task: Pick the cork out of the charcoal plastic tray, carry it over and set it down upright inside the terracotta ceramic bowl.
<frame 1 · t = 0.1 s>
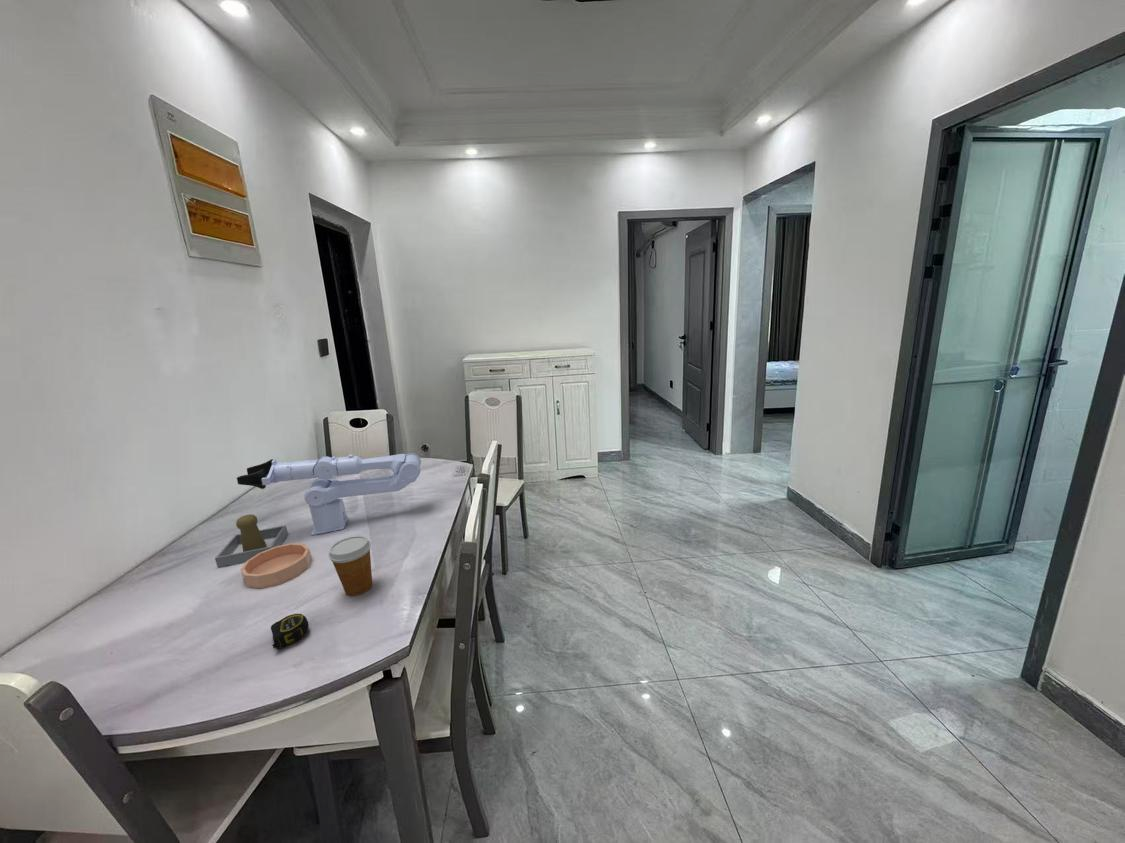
hand: (242, 476, 137), 22 cm above the table, fingers open, 7 cm apart
cork: (255, 550, 137), resting in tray
tape measure: (289, 640, 97), on the table
bowl: (279, 569, 125), on the table
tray: (255, 549, 137), on the table
disposable coffee cup: (359, 588, 113), on the table
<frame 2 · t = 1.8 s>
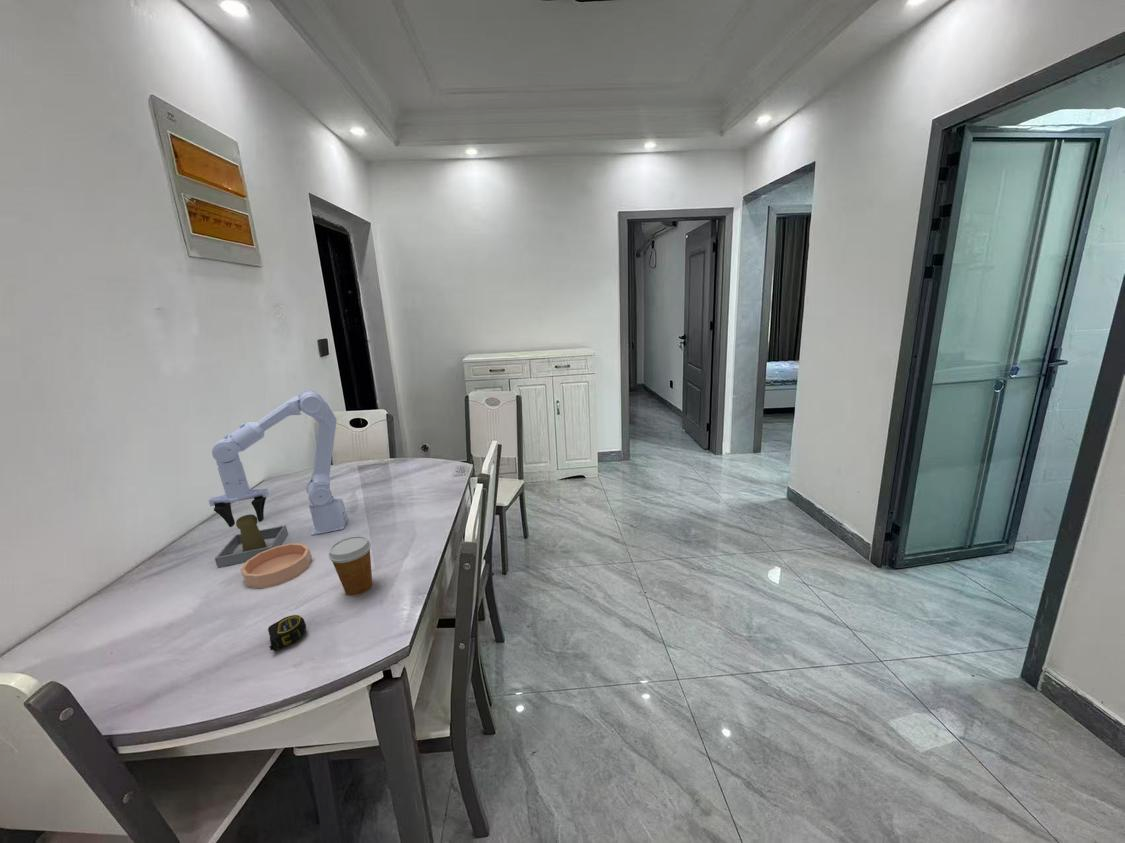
hand: (246, 522, 135), 9 cm above the table, fingers open, 7 cm apart
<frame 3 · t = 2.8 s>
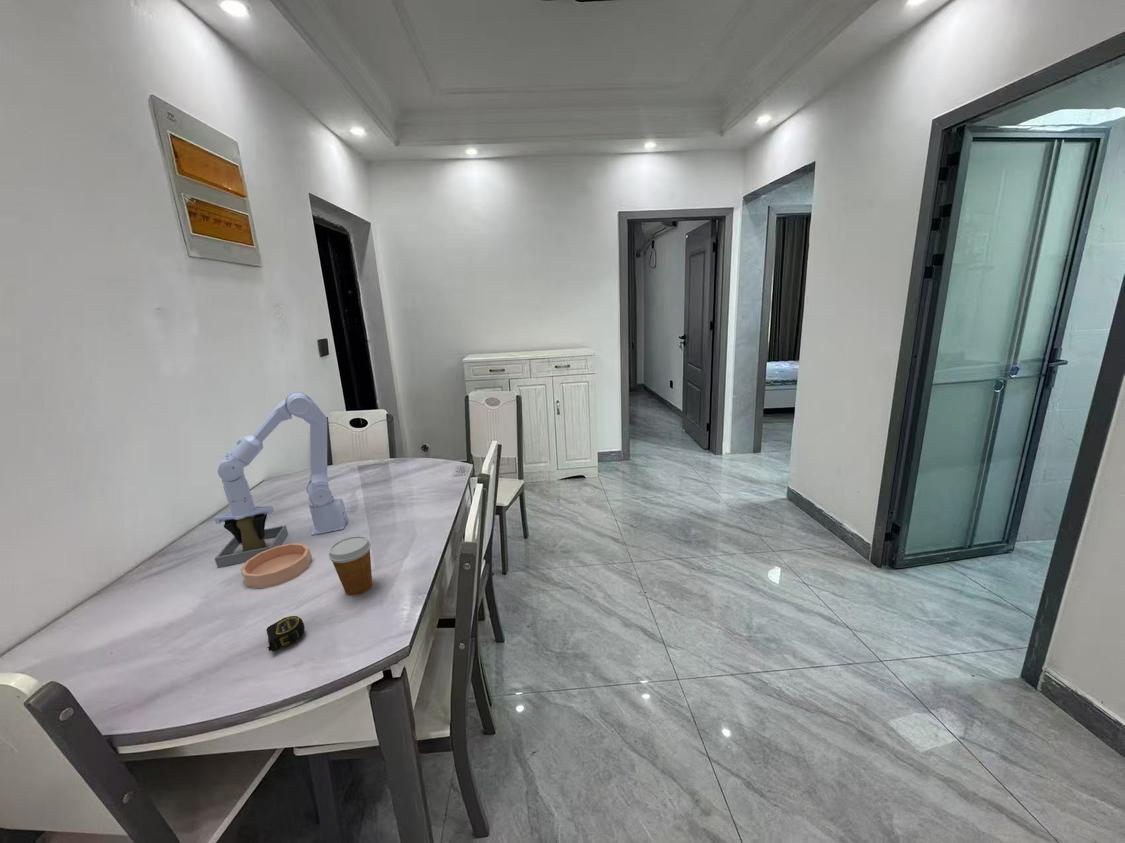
hand: (252, 539, 136), 3 cm above the table, fingers closed on cork, 5 cm apart
cork: (255, 550, 137), resting in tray, touching gripper
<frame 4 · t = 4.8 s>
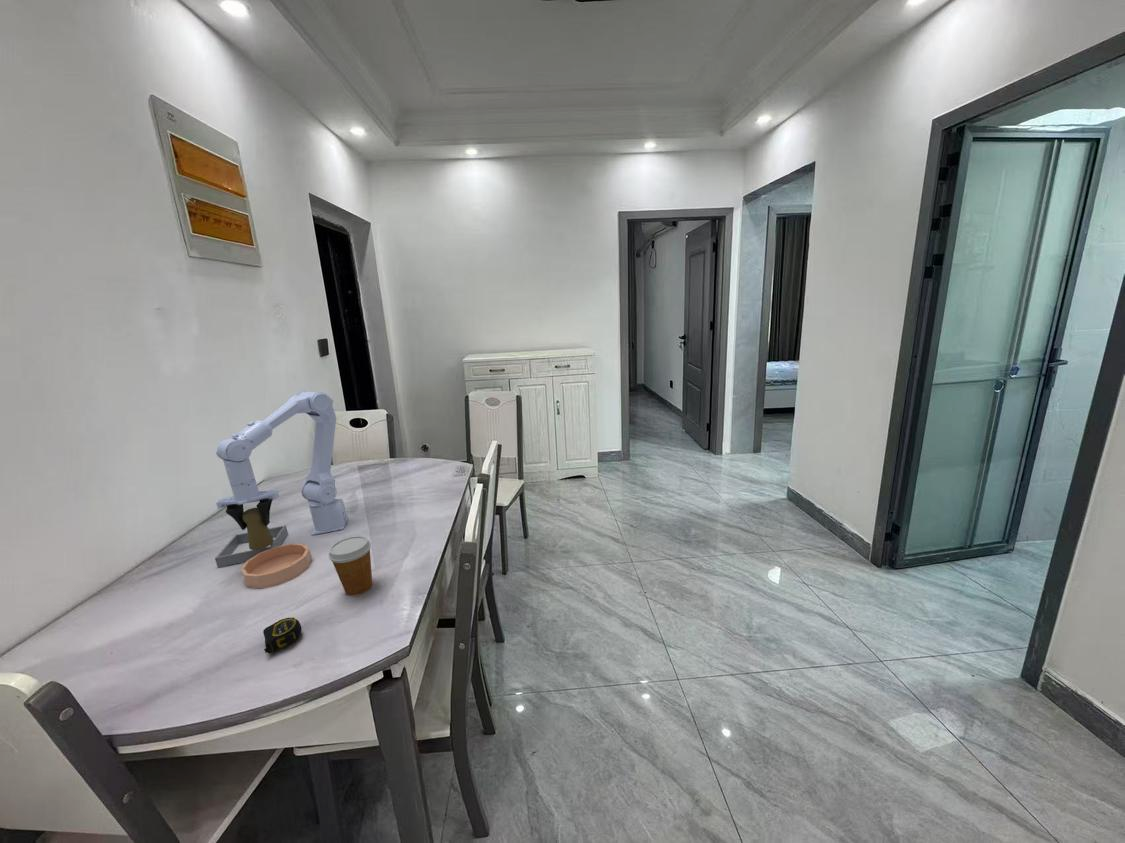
hand: (256, 526, 128), 10 cm above the table, fingers closed on cork, 5 cm apart
cork: (261, 544, 131), point 4 cm above the table, touching gripper
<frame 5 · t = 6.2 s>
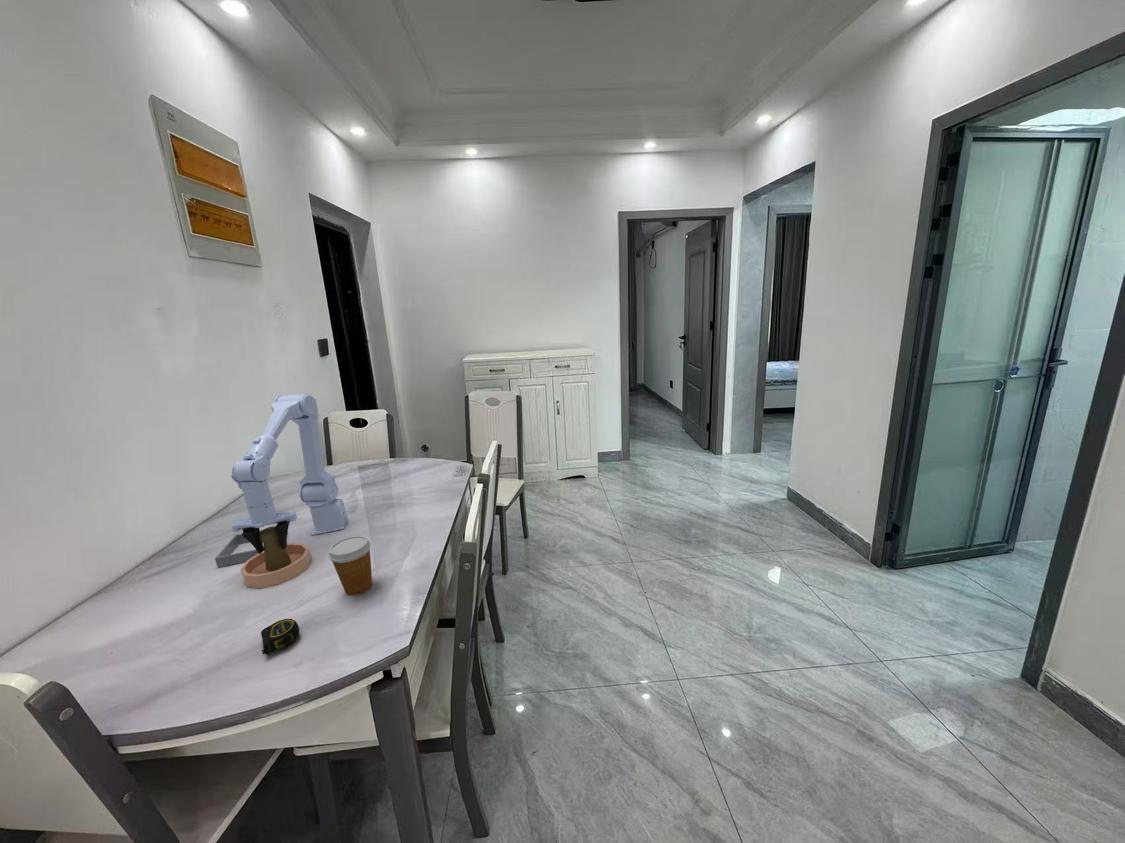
hand: (273, 549, 123), 6 cm above the table, fingers closed on cork, 5 cm apart
cork: (278, 565, 126), point 1 cm above the table, touching bowl, gripper
when the fingers open (6 cm above the table, at t = 6.9 s): cork stays where it is, resting on bowl.
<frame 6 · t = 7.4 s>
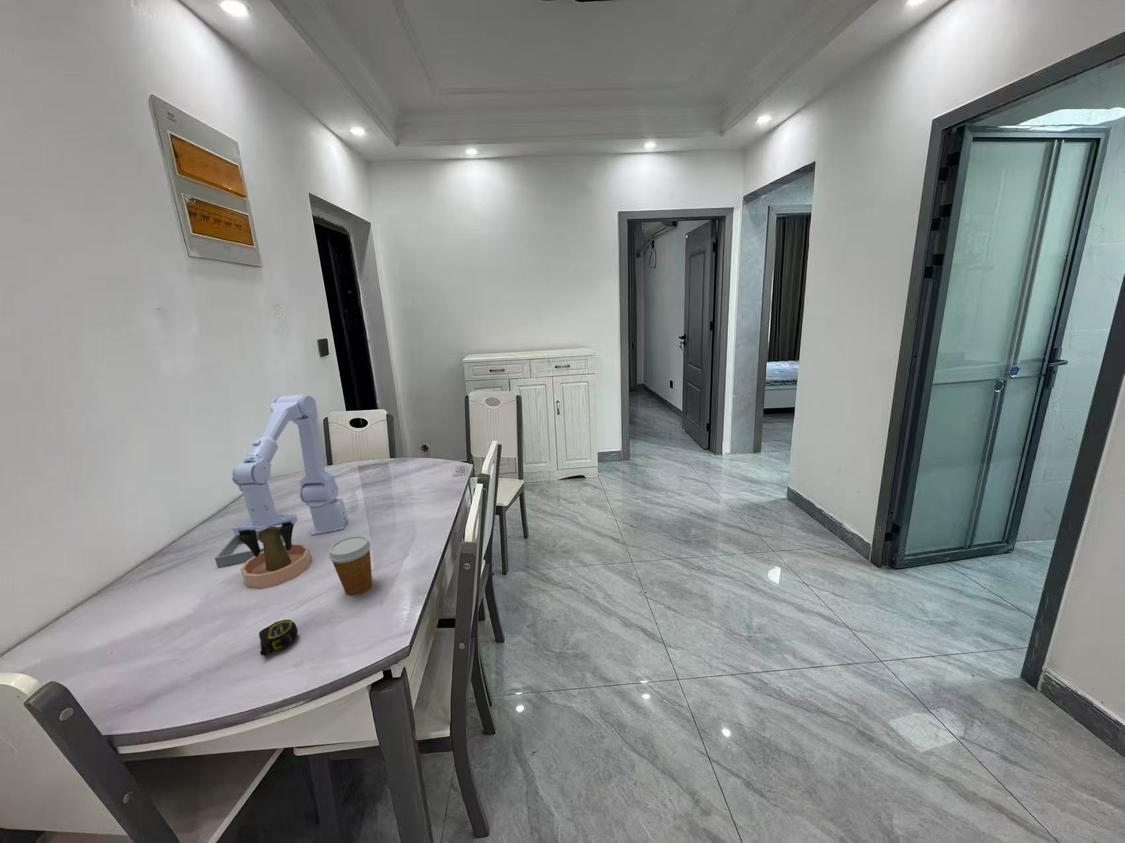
hand: (273, 551, 123), 6 cm above the table, fingers open, 7 cm apart
cork: (278, 565, 126), point 1 cm above the table, touching bowl
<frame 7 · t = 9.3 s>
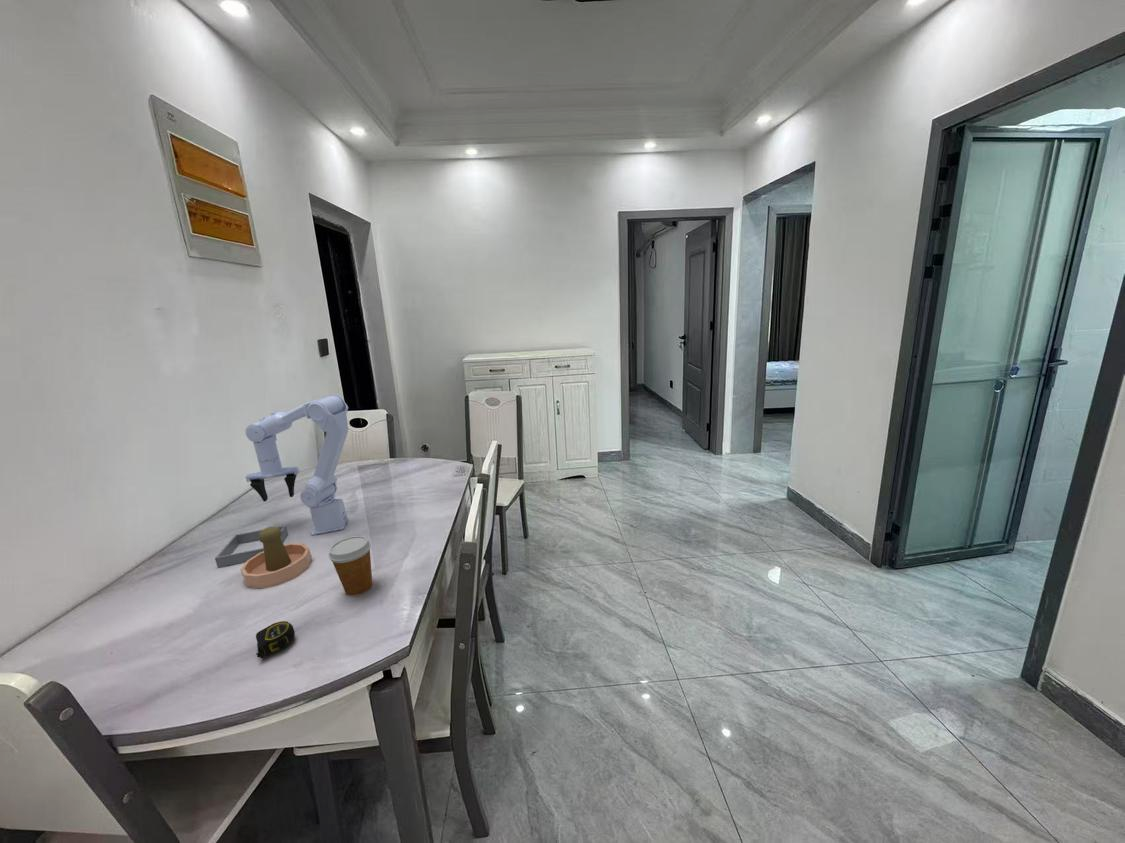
hand: (279, 498, 147), 10 cm above the table, fingers open, 7 cm apart
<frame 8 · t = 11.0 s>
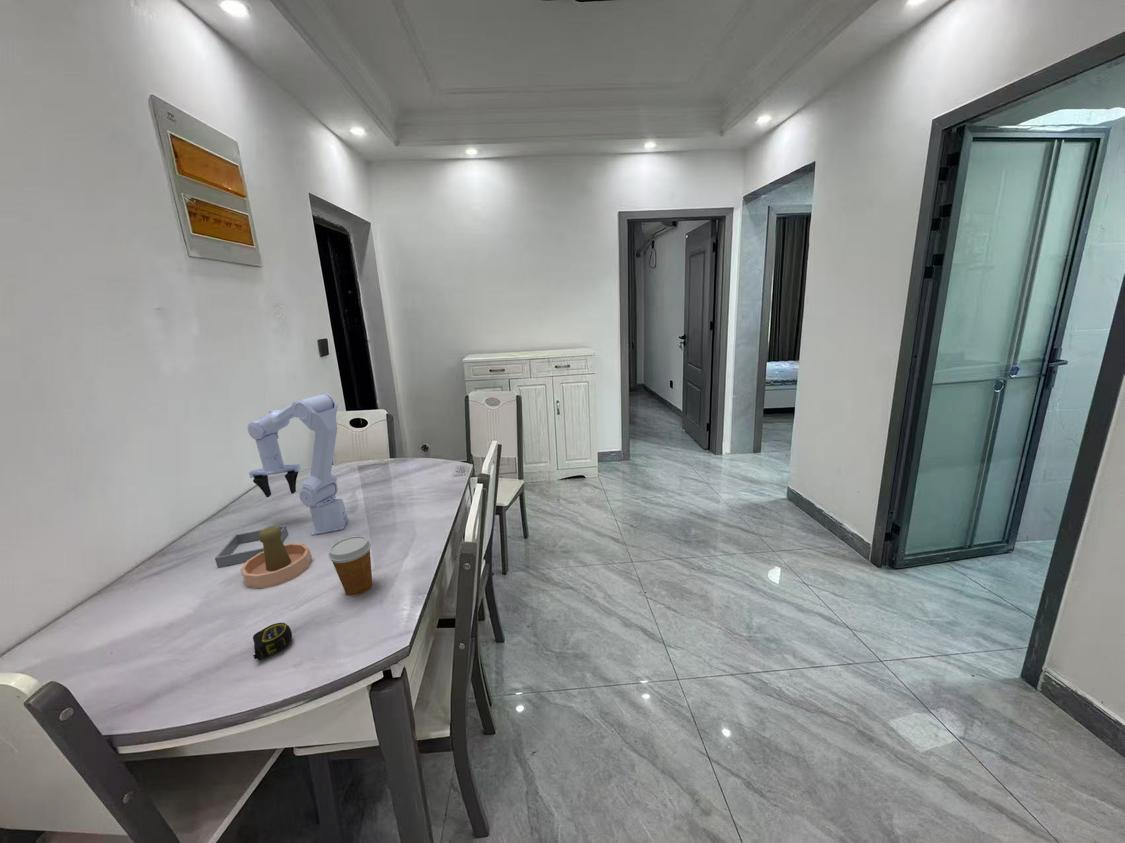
hand: (281, 494, 150), 10 cm above the table, fingers open, 7 cm apart
at the end: cork inside the target area on the bowl (1.4 cm from its centre), point 0.6 cm above the bowl's base; cork tilted 0°; the gripper is holding nothing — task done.
